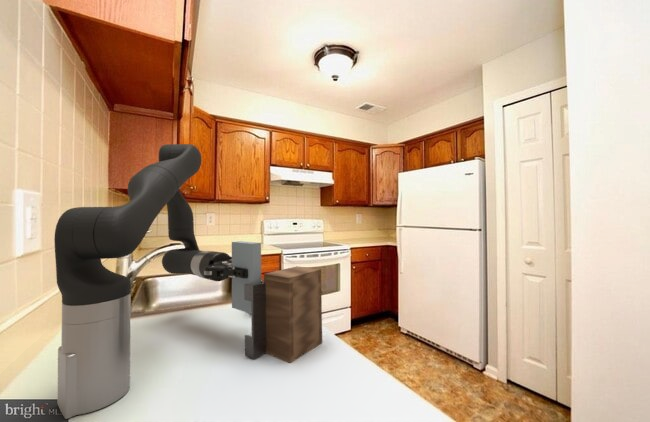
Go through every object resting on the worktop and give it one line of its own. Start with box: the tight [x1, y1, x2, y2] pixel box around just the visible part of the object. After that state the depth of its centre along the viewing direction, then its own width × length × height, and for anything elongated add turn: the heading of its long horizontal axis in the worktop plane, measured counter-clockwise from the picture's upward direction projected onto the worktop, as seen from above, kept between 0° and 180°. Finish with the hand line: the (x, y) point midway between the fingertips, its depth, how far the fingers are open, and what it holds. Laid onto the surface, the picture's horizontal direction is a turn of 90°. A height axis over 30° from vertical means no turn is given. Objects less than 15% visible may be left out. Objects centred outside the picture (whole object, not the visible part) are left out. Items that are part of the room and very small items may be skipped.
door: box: [231, 240, 262, 315], centre depth 64 cm, size 2×8×16 cm, turn 53°
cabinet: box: [263, 265, 323, 364], centre depth 64 cm, size 11×8×18 cm
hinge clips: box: [244, 280, 267, 361], centre depth 61 cm, size 5×3×16 cm
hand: (252, 272), depth 63 cm, fingers closed on door, 2 cm apart
